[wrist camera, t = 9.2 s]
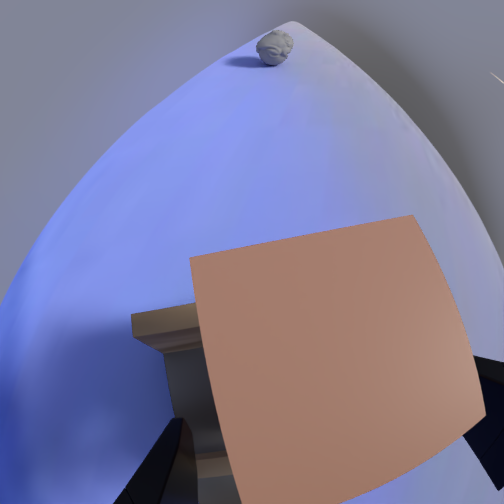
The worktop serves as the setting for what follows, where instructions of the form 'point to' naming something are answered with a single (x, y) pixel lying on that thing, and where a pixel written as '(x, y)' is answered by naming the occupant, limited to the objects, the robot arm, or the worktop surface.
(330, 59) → the worktop surface
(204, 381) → the cleat board
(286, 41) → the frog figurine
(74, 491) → the worktop surface
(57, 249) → the worktop surface
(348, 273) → the cabinet block
